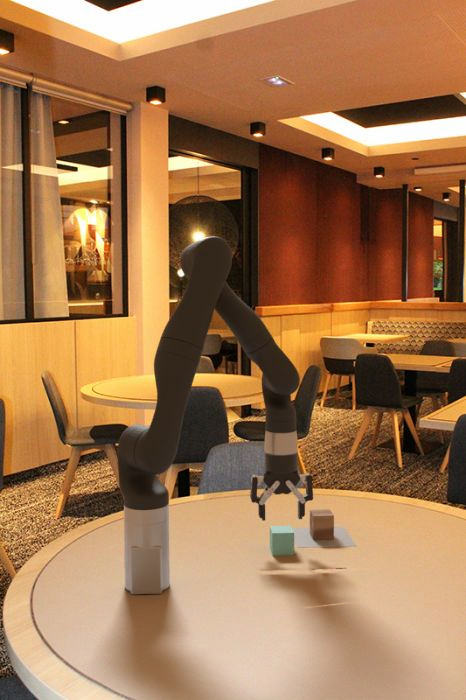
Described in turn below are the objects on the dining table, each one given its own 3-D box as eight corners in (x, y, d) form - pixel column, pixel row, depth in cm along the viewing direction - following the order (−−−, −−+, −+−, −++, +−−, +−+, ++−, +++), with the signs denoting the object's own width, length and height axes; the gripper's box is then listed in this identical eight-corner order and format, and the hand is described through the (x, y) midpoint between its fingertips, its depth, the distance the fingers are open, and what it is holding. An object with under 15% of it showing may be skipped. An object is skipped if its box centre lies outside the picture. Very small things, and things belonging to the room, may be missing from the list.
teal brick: (294, 558, 162) (294, 532, 161) (272, 559, 161) (272, 533, 161) (290, 550, 167) (291, 525, 166) (269, 551, 166) (269, 526, 166)
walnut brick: (333, 539, 171) (334, 515, 171) (313, 540, 171) (313, 515, 170) (329, 532, 176) (329, 509, 176) (309, 533, 176) (309, 509, 175)
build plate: (356, 549, 167) (356, 545, 167) (297, 550, 166) (297, 547, 166) (343, 529, 181) (343, 526, 181) (288, 531, 180) (288, 528, 180)
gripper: (251, 454, 158) (252, 525, 160) (315, 452, 159) (315, 523, 161) (248, 447, 166) (249, 515, 167) (309, 445, 167) (309, 512, 168)
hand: (281, 518), depth 164 cm, fingers open, 8 cm apart
